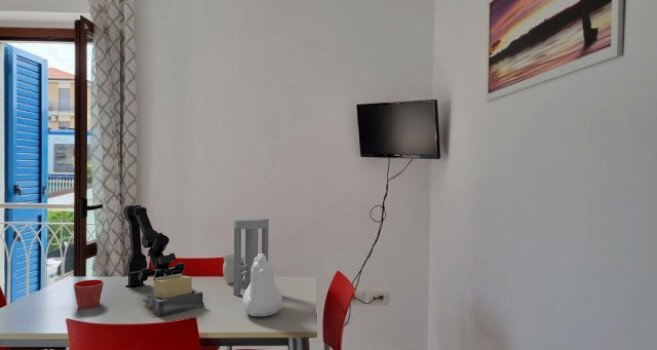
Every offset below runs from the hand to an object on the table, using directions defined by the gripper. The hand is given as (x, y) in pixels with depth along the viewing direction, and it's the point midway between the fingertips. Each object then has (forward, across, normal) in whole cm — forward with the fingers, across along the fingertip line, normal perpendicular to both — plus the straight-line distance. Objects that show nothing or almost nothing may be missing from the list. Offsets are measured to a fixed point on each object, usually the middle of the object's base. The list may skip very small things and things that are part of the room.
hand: (168, 288), depth 177 cm
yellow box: (+6, 0, -1) cm, 7 cm away
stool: (+13, +34, -3) cm, 37 cm away
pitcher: (-3, +40, +13) cm, 42 cm away
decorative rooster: (+29, +24, -20) cm, 43 cm away
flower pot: (-9, -25, +19) cm, 33 cm away
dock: (+4, 0, +6) cm, 8 cm away
